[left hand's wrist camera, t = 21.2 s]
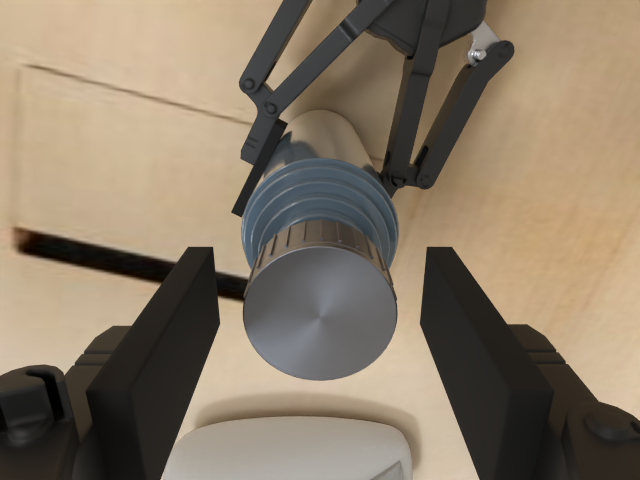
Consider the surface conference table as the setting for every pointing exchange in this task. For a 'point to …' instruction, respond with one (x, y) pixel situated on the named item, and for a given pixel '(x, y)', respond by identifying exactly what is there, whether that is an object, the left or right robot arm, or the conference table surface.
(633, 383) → the conference table surface
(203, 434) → the projector
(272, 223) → the bottle
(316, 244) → the cap
